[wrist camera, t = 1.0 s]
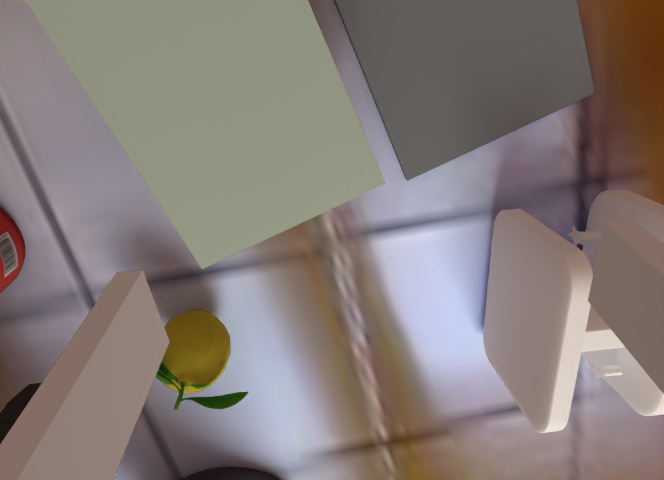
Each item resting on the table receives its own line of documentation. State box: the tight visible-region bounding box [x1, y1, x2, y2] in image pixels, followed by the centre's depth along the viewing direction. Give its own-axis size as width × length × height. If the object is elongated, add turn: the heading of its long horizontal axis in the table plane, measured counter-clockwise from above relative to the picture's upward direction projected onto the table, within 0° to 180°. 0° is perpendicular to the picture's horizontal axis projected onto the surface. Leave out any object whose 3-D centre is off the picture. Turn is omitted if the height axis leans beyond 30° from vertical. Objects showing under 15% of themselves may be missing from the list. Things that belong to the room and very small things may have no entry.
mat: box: [334, 0, 595, 181], centre depth 31 cm, size 15×20×1 cm
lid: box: [25, 0, 386, 269], centre depth 24 cm, size 11×16×4 cm
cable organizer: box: [483, 190, 664, 433], centre depth 35 cm, size 15×11×12 cm
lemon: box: [155, 310, 248, 410], centre depth 34 cm, size 7×6×10 cm
